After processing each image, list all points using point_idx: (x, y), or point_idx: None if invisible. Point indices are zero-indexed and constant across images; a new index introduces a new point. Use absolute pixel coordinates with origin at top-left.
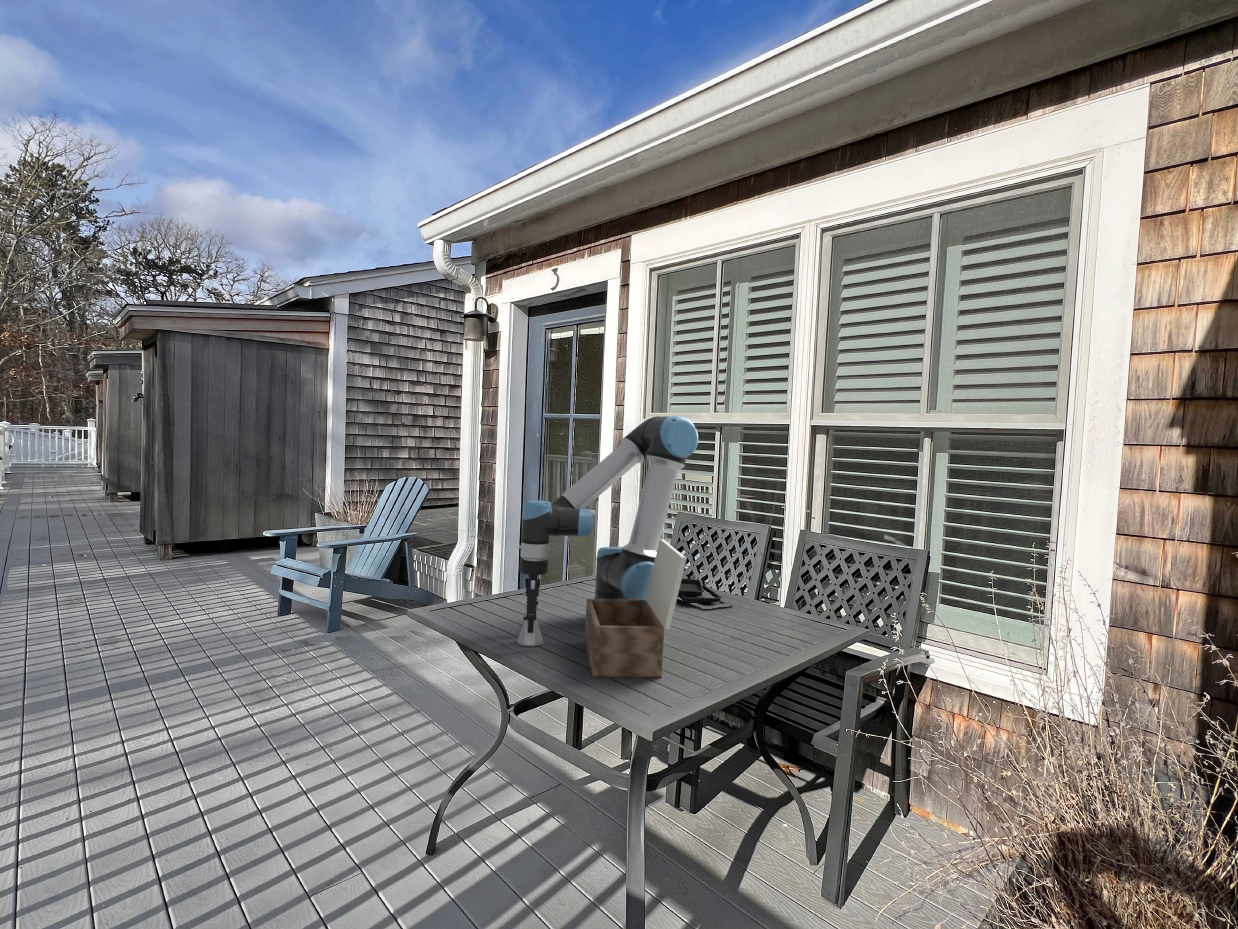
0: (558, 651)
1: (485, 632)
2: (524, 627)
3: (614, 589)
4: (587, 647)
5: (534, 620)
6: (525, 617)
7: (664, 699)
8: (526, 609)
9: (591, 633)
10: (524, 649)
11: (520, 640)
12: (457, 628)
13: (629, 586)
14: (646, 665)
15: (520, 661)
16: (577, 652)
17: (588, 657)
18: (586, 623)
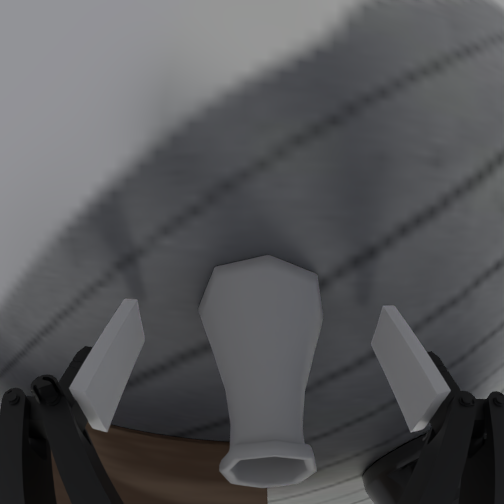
0: (166, 387)
1: (436, 106)
2: (234, 338)
3: None
4: (160, 448)
5: (89, 420)
6: (36, 396)
7: None
8: (428, 379)
9: (59, 477)
10: (168, 285)
11: (223, 280)
12: (468, 12)
13: None
14: None
15: (43, 264)
16: (168, 422)
17: (123, 430)
18: (227, 498)
